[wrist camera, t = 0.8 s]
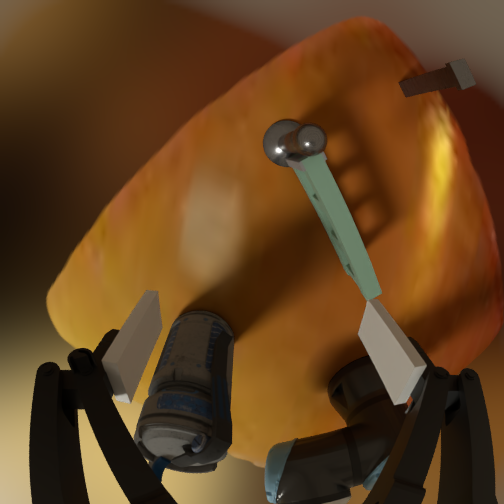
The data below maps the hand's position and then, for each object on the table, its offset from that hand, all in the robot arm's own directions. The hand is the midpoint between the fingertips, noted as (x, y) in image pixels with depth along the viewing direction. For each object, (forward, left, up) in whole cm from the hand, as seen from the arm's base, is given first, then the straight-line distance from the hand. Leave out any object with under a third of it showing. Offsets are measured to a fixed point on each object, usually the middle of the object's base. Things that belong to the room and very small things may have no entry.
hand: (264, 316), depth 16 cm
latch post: (+7, -30, -21) cm, 37 cm away
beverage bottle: (-11, +15, -22) cm, 29 cm away
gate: (-3, -9, -20) cm, 22 cm away
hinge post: (+7, -9, -21) cm, 24 cm away
